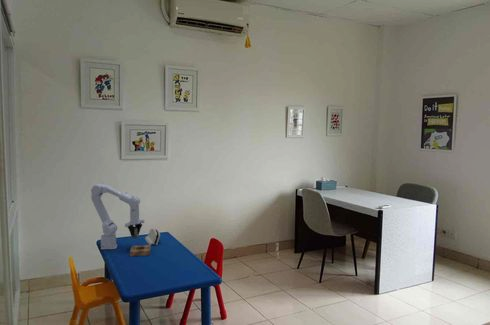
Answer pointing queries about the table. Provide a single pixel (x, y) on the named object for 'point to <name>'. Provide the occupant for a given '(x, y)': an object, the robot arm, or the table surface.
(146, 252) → the block
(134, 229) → the pin
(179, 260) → the table surface
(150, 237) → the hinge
